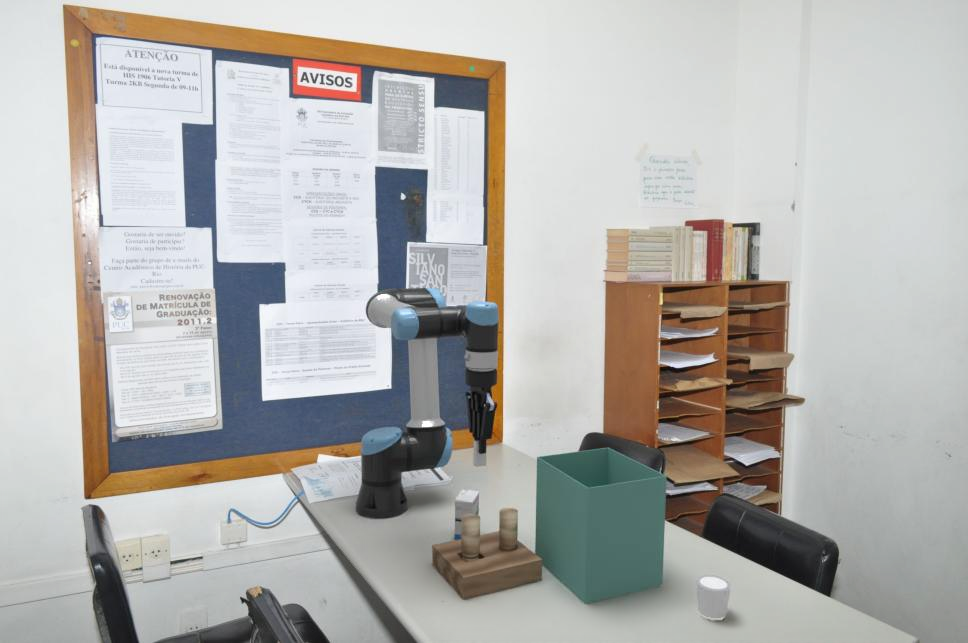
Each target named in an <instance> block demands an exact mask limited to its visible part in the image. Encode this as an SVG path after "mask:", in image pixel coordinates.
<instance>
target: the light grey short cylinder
mask: <svg viewBox="0 0 968 643" xmlns="http://www.w3.org/2000/svg"><path fill="white" fill-rule="evenodd" d="M695 580H696V581H695V582H696V598H697V599H696V600H697V612H698V611H699V612H700V613H701V614H702V615H704V616H706V617H711V618H721V617H724V616H725V615H726V616H727V611H728V605H729V601H730V600H729V598H730V594H731V586H732V585H731V583H730V581H728V580H727V579H725V578H723V577H721V576H716V575H709V574H706V575H705V574H704V575H700V576H698V577H697V578H696V579H695Z"/></svg>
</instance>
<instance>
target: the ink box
mask: <svg viewBox="0 0 968 643" xmlns="http://www.w3.org/2000/svg"><path fill="white" fill-rule="evenodd" d="M479 506H480V491H477V490H470V489H462V490H461V491H460V492H459V494H457V496H456V497H455V499H454V540H459V539H461V517H462V516H463V515H466V514H476V515H479V514H480V513H479V512H480V510H479V509H480V507H479ZM479 516H480V515H479Z"/></svg>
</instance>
